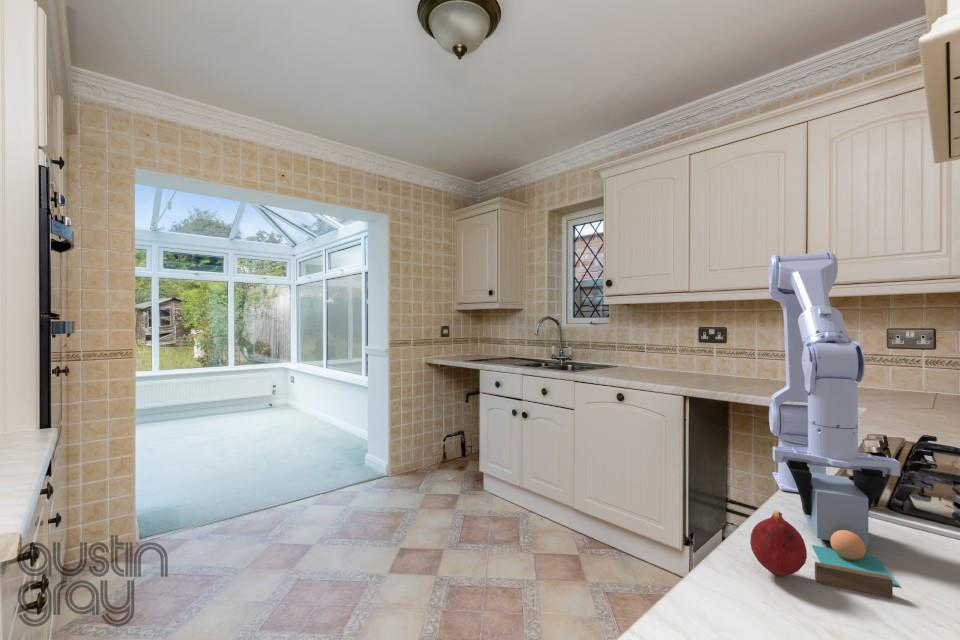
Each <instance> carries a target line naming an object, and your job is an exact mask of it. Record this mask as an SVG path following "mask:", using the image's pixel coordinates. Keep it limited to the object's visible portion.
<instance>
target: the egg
mask: <svg viewBox="0 0 960 640" xmlns="http://www.w3.org/2000/svg"><path fill="white" fill-rule="evenodd" d="M829 543H830V546H831V548H833V550H834V551H835V552H836V553H837V554H838V555H839V556H841V557H842V558H844V559H847V560H859V559H861V558H862V557H863V556H864V555H865V554H866V553H867V547H865V544H864V542H863V541H862V539H861V538H860V537H859V536H858V535H856V534H855V533H853V532H851V531H847V530H839V531H836V532H835V533H833V535H832V536H831V540H829Z"/></svg>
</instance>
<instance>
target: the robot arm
mask: <svg viewBox="0 0 960 640" xmlns="http://www.w3.org/2000/svg"><path fill="white" fill-rule="evenodd" d="M767 271H768V293H769V295H770V299H771V300H772V301H776V302H778V303H780V307H781V310H782V313H783V330H784V331H783V333H784V334H783V335H784V352H785V353H784V357H785V359H784V360H785V379H786V380H785V381H786V383H785V384H786V385H785V386H784V387H783V388H781V389H779V390H777V391H776V392H774V393H773V394H772V395H771V397H770V398H769V409H768V422H769V428H770V433H771V434H772V435H773V436H776V437H777V438H778V445H777V446H772V459H773V462H774V463H777V468H778V470H777V471H778V472H776V471H773V472H772V474H771V475H772V476H773V478H774V479H775V482H776V484H777V485H778V488H779V489H780V490H781V488H782V487H783V486H784V485H785V484H786V483H787V485H786V486H784V487H783V488H782V490H781V491H785V492H790V493H791V492H792V493H799V497H800V501H801V507H802V512H803V511H804V513H805V514H806V515H811V509H812V508H811V496H810V492H811V479H812V474H811V473H818V474H827V468H835V469H845V470H851V471H852V476H853V483H854V484H855V485H856V486H857V487H858V488H859V489H860V490H861V491H862V492H863V493H864V494H865V495H866V496H867V497H868V513H869V512H870V509H871V507H872V505H873V503H874V501H875V499H876V498H877V496H878V495H879V494H880V492H881V491H882V490H883V489H884V487H885V486H886V483H887V478H886V477H885V476H884V474H887V475H889V476H893V477H894V476H895V477H901V462H899V461H898V460H897V459H895V458H891V457H883V456H877V455H876V456H875V455H870V454H864V453H860V452H859V432H858V431H859V429H858V428H859V418H858V417H859V413H858V410H859V407H858V406H859V404H858V397H859V395H858V391H859V389H858V383H860V382H862V381H863V378H864V377H865V376H864V375H865V372H866V371H865V369H866V367H865V366H866V361H865V354H864V350H863V347H862V345H861V344H860V342H859V341H857V340H856V339H855V337H850V335H849V332H848V329H847V325H846V323H845V321H844V318H843V314H842V312H841V311H840V310H839V309H837V308H835V307H833V306H831V303H830V296H829V294H830V293H831V291H832V288H833V286H834V284H835V282H836V280H837V277H838V260H837V256H836V254H834V253H833V251H826V252H813V253H798V254H797V253H796V254H781V255H778V254H773V255H772V256H771V257H770V258H769V261H768V270H767ZM785 402H787V403H785ZM788 402H790V404H788ZM793 403H805V404H804V405H803V404H793ZM806 403H807V405H806Z"/></svg>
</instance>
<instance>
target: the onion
mask: <svg viewBox="0 0 960 640" xmlns="http://www.w3.org/2000/svg"><path fill="white" fill-rule="evenodd" d="M749 543H750V548H751V551H752V553H753V555H754V557H755V558H756V560H757V561H758V563H760V565H761V566H762V567H763V568H764V569H766V570H767V571H768V572H770V573H771V574H772V575H773V576H775V577H777V578H783V577H785V576H790V575H794V574H796V573H798V572H799V571H800V570H801V569H802V567H803V566H804V565H805V564H806V561H807V558H808V555H807V554H808V553H807V552H808V551H807V546H806V544H805V543H806V542H805V541H804V539H803V537H802V535H801V534H800V532H799V531H798V530H797V528H796V527H794V526H793V525H792V524H791V523H790V522H788V521H787V520H785V518H783V514H782V512H780V511H779V510H777V509H776V510H774V511H772V515H771V516H770V517H768V518H765V519H763V520H761V521H759V522H758V523H757V524H755V525H754V527H753V529H752V531H751V533H750V541H749Z"/></svg>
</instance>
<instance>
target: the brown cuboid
mask: <svg viewBox="0 0 960 640" xmlns="http://www.w3.org/2000/svg"><path fill="white" fill-rule="evenodd" d="M814 579H815V581H816V583H819V584H824V585H828V586H834V587H837V588H838V587H839V588H843V589H848V590H853V591H858V592H863V593H867V594H872V595H876V596H882V597H886V598H891V599H892V598H894V597H893V595H894V594H893V591H894V590H893V587H894V586H893V580H892V579H891V578H890V576H887V575H882V574H877V573H872V572H867V571H861V570H856V569H851V568H846V567H840V566H835V565H830V564H825V563H820V561H819V562H818V561H814Z"/></svg>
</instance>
